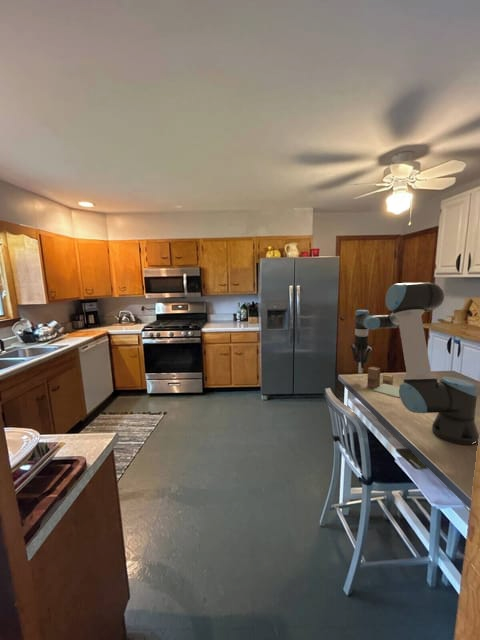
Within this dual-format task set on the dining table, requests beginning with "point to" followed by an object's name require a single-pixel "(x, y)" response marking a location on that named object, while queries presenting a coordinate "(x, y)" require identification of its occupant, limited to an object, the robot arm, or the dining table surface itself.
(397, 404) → the dining table surface
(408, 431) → the dining table surface
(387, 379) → the oak cube
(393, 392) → the mat
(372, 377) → the wooden block
